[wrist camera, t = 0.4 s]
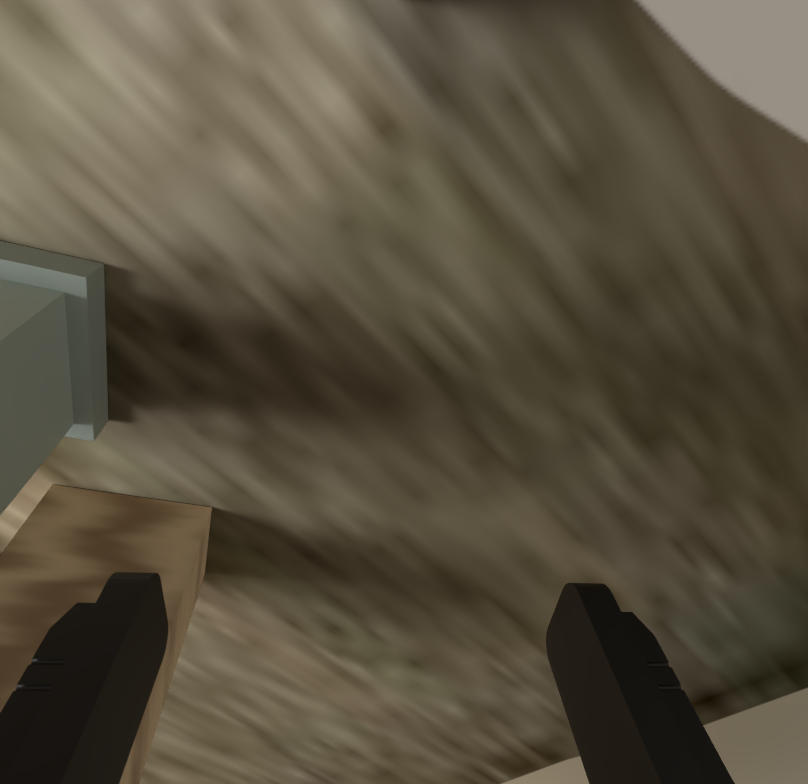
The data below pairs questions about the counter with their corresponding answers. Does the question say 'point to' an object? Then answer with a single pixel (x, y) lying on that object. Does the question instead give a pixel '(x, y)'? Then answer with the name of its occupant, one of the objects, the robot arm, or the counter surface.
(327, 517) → the counter surface
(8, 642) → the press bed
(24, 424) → the frame
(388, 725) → the counter surface
